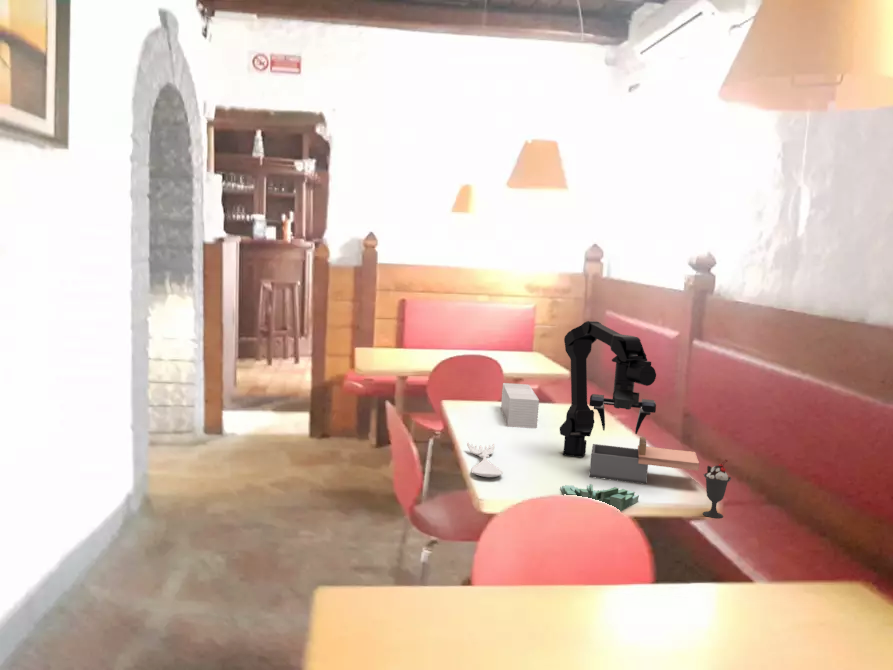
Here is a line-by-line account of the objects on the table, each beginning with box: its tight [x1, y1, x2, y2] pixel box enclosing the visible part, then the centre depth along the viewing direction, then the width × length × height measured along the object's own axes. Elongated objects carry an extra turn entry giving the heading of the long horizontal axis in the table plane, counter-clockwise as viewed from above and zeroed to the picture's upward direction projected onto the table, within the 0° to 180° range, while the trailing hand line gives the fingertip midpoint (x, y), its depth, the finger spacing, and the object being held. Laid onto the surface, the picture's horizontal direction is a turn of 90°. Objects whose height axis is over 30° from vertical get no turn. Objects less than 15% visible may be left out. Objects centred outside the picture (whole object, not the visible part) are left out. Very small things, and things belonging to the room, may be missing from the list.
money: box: [560, 483, 640, 512], centre depth 204 cm, size 20×16×5 cm
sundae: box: [702, 459, 732, 520], centre depth 198 cm, size 7×7×15 cm
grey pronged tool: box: [466, 442, 504, 478], centre depth 230 cm, size 9×32×3 cm, turn 1°
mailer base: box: [589, 443, 649, 485], centre depth 229 cm, size 16×12×7 cm
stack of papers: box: [500, 382, 540, 429], centre depth 299 cm, size 32×11×11 cm, turn 0°
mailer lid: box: [637, 436, 700, 471], centre depth 226 cm, size 16×14×5 cm
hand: (619, 432), depth 228 cm, fingers open, 9 cm apart
